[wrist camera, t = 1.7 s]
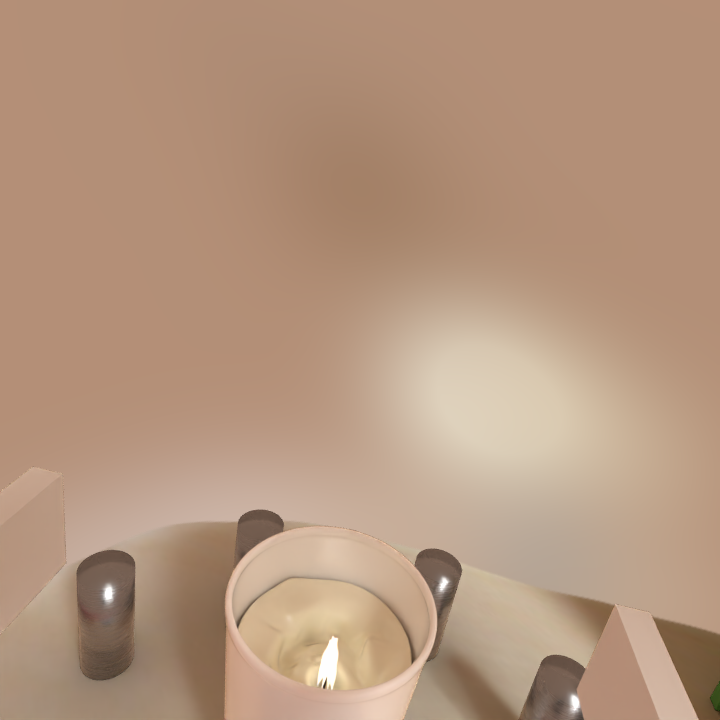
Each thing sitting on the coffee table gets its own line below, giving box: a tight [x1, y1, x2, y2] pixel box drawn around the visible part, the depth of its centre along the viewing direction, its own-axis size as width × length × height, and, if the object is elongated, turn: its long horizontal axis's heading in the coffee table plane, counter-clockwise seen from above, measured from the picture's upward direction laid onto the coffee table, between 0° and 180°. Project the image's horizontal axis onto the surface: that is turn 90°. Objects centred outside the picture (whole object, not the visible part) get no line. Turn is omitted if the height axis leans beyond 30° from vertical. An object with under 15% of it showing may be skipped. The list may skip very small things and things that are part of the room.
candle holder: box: [224, 526, 437, 720], centre depth 28 cm, size 10×10×12 cm
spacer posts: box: [77, 510, 586, 720], centre depth 34 cm, size 29×10×7 cm, turn 81°
